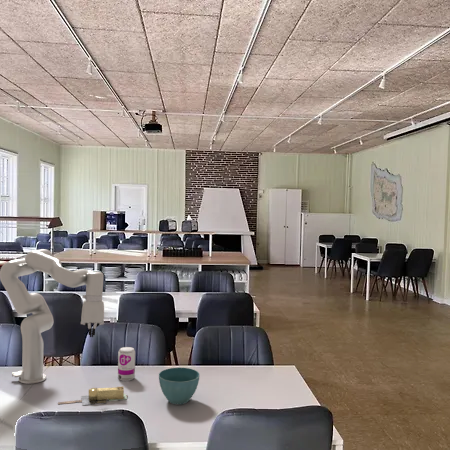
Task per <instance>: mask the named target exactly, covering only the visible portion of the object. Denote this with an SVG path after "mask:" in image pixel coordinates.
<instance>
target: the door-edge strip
mask: <svg viewBox="0 0 450 450" xmlns="http://www.w3.org/2000/svg"><path fill="white" fill-rule="evenodd" d="M126 396H127V398H128V395H127V394H126ZM105 400H106V401H108V399H105ZM76 402H78V403H82V399H79V400H78V399H76V400H67V401H58V402H57V404H58V405H66V404H67V405H68V404H76Z"/></svg>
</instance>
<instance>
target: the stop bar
mask: <svg viewBox="0 0 450 450" xmlns="http://www.w3.org/2000/svg"><path fill="white" fill-rule="evenodd" d="M124 388H125V387H124V385H123V386H115V387H99V388H98V387H90V388H89V389H88V395H89V397H88V399H89V400H91V401H95V400H102V399H107V400H109V399H124V394H125V389H124ZM124 400H125V399H124Z"/></svg>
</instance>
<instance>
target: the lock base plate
mask: <svg viewBox="0 0 450 450" xmlns="http://www.w3.org/2000/svg"><path fill="white" fill-rule="evenodd" d="M88 397H89V394H87V395H81V396H80V398H81V399H80V400H82V402H81V404H82V406H93V405H101V404H107V400H105V399H102V400H95V401H91V400H89V399H88Z"/></svg>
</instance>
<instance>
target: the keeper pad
mask: <svg viewBox="0 0 450 450" xmlns="http://www.w3.org/2000/svg"><path fill="white" fill-rule="evenodd" d="M126 395H127V393H124V399H108V401H109V402H111V401H112V402H114V401H123V400H128V397H127V396H128V395H127V396H126Z"/></svg>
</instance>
